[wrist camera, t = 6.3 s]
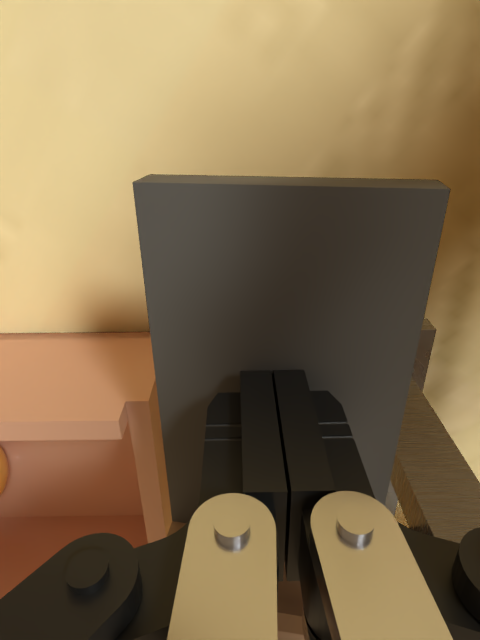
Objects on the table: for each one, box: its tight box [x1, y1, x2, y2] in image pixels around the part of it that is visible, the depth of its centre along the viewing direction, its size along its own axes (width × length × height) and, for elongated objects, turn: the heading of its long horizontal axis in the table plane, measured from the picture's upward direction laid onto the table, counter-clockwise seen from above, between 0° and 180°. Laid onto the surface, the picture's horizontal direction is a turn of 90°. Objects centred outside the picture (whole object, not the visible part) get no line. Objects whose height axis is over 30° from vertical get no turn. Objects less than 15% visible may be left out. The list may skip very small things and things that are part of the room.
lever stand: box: [385, 319, 480, 543], centre depth 18 cm, size 5×13×10 cm, turn 1°
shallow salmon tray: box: [0, 332, 172, 599], centre depth 19 cm, size 12×13×8 cm
